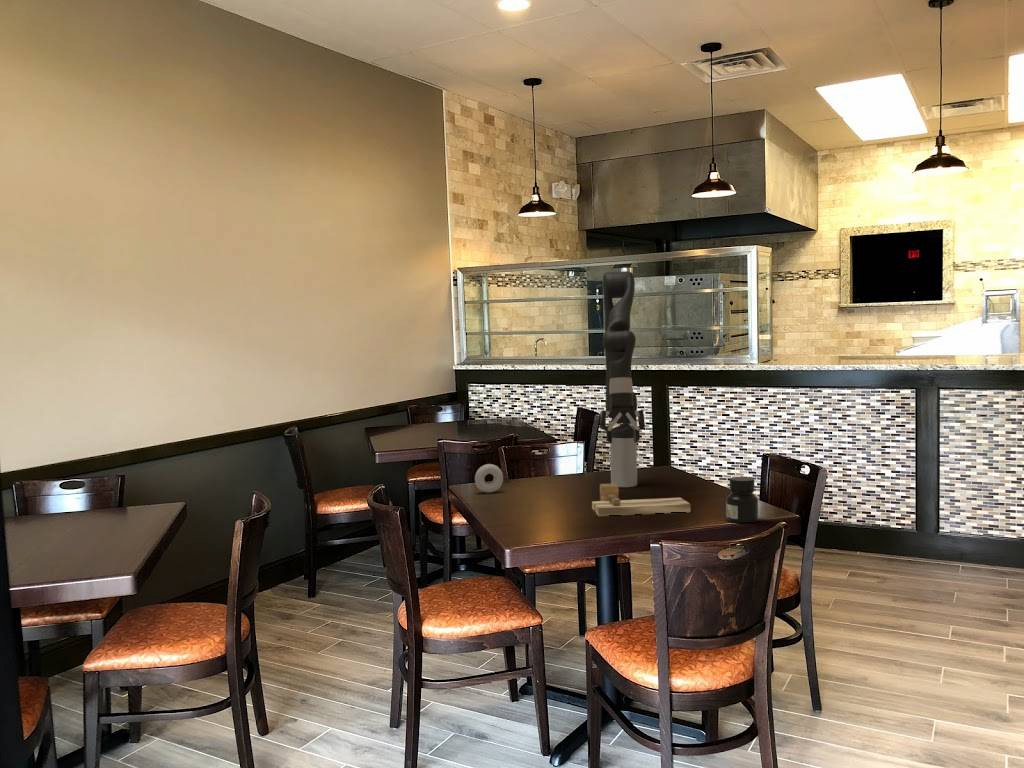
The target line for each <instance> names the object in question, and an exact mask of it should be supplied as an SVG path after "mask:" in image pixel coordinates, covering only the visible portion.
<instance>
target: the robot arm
mask: <svg viewBox="0 0 1024 768" xmlns="http://www.w3.org/2000/svg"><path fill="white" fill-rule="evenodd" d="M634 276H635V275H634V274H633V272H631V271H608V272H607V271H606V272H604V273H603V276H602V293H603V306H604V307H603V308H604V334H603V338H602V347H603V350H604V351H605V371H606V373H605V375H606V376H605V404H604V405H605V410H601V411H600V417H599V429H600V430H603V431H605V438H606V442H607V443H608V444H610V447H609V449H610V451H609V452H610V484H615V483H616V484H617V485H618V488H631V487H632V488H633V487H636V486H638V453H637V451H638V449H637V448H638V446H637V443H638V442H639V441H640V431H641V430H643V429H645V427H646V423H645V415H644V410H643V409H639V410H638V398H637V394H636V392H634V387H633V385H634V384H633V380H632V379H633V378H632V359H633V354H634V350H635V348H636V341H637V340H636V335H635V334H634V332H633V331H632V330H631V310H632V307H633V303H634V302H633V301H634V297H635V288H636V286H635V285H636V283H635V277H634ZM613 299H619V300H618V301H617V302H616V303H615V304H614V301H613ZM607 418H609V419H611V420H610V421H609V422H608V423H607V424H608V425H607V426H606V421H607ZM637 421H638V422H637ZM637 423H638V424H637ZM615 425H618V426H615ZM614 426H615V427H614Z"/></svg>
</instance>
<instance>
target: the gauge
mask: <svg viewBox="0 0 1024 768" xmlns="http://www.w3.org/2000/svg"><path fill="white" fill-rule="evenodd" d="M619 491H620V489H619V487H618V485H617V484H616V483H615V484H611V483H599V501H610V502H611V503H612V504H613V505H620V500H621V499H620V498H619Z"/></svg>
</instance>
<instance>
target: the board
mask: <svg viewBox="0 0 1024 768" xmlns="http://www.w3.org/2000/svg"><path fill="white" fill-rule="evenodd" d="M691 505H692V504H691V503H689V502H688V501H686V500H685V499H684V498H682V497H667V498H665V497H663V498H662V497H661V498H640V499H620V505H613V504H612V503H611V502H610V501H600V500H598V501H597V500H596V501H591V510H592V509H593V510H594V511H595V512H596V513H595V512H594V511H593V510H592V511H593V512H594V513H595V514H596V515H597V516H598V517H610V516H609V515H621V516H635V514H642V515H656V514H655V513H664V514H672V513H671V512H686V513H691V511H692V510H691V507H692V506H691Z"/></svg>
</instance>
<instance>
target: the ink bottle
mask: <svg viewBox="0 0 1024 768" xmlns="http://www.w3.org/2000/svg"><path fill="white" fill-rule="evenodd" d="M729 491H730V493H729V494H728V495H726V497H725V500H726V501H725V504H726V505H725V512H726V513H725V516H726V520H727V521H729V522H731V521H732V523H737V522H738V523H739V524H751V523H756V522H757V521H758V520H759V498H758V497H757V496H756V495H755V493H754V492H755V478H753V477H748V476H733V477H730V478H729ZM738 523H737V524H738Z"/></svg>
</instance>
